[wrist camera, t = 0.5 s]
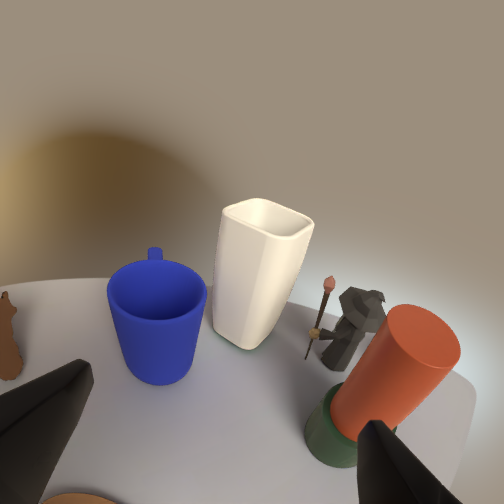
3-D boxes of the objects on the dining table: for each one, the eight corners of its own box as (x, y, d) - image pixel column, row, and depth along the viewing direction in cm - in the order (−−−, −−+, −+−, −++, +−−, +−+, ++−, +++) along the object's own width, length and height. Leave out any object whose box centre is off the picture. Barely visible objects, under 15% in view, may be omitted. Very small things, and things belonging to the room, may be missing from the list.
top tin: (398, 439, 18) (473, 365, 13) (335, 446, 18) (407, 370, 13) (382, 385, 24) (437, 307, 19) (324, 385, 23) (375, 299, 18)
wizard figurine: (338, 339, 35) (376, 261, 29) (364, 370, 31) (412, 292, 25) (285, 356, 31) (320, 269, 25) (311, 393, 27) (360, 309, 21)
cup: (282, 330, 35) (320, 221, 28) (250, 364, 29) (286, 242, 22) (235, 302, 38) (258, 195, 31) (198, 329, 32) (214, 209, 25)
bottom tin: (380, 463, 20) (406, 444, 18) (307, 471, 19) (328, 454, 17) (365, 403, 26) (385, 380, 24) (300, 404, 26) (316, 379, 24)
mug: (187, 310, 35) (194, 239, 30) (205, 393, 25) (216, 321, 20) (122, 310, 32) (116, 237, 27) (120, 396, 22) (101, 322, 17)
